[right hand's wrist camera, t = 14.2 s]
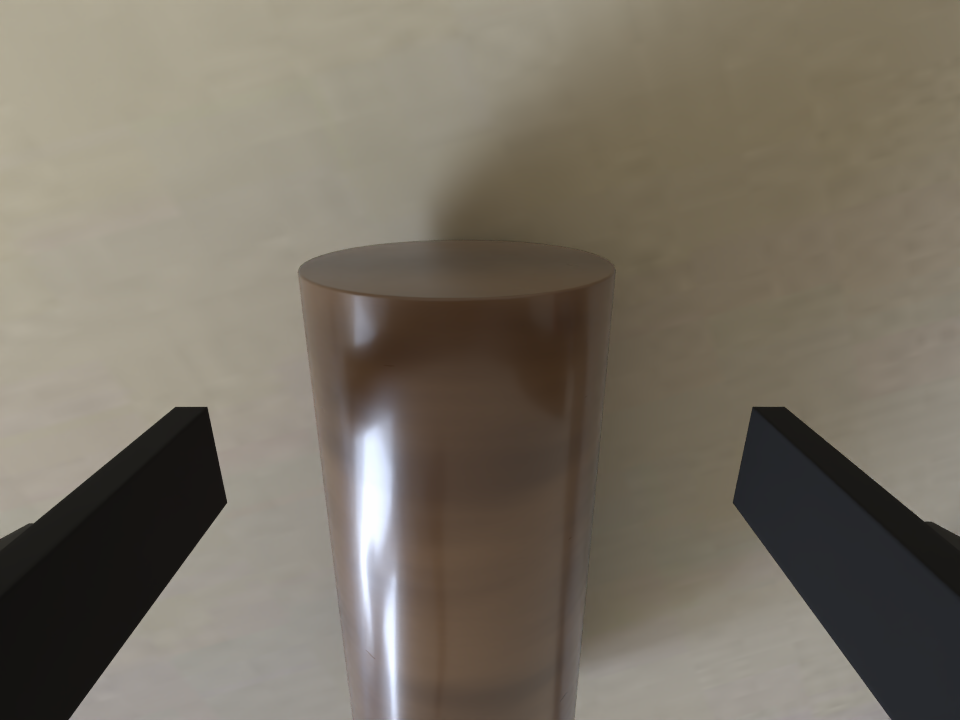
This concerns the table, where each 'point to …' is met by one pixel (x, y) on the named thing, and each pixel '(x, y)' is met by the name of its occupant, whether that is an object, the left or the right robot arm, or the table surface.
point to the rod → (459, 468)
